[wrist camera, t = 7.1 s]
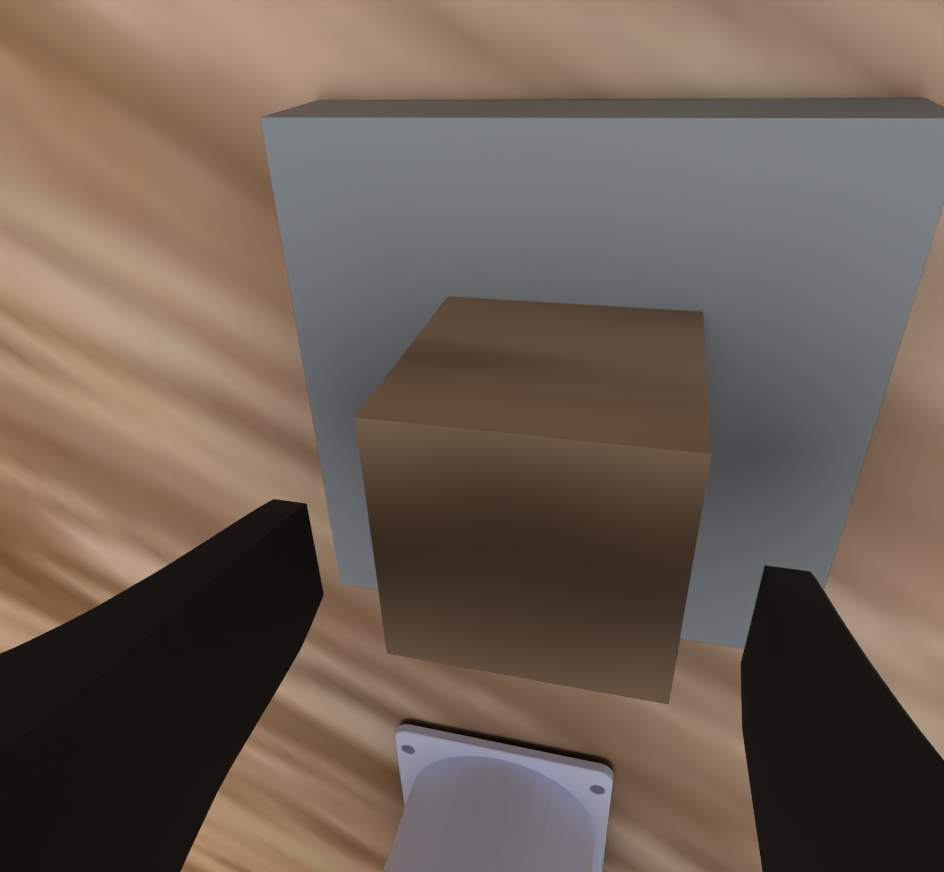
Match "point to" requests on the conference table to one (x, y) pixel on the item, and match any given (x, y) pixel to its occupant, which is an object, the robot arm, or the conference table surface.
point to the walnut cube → (541, 490)
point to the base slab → (628, 278)
